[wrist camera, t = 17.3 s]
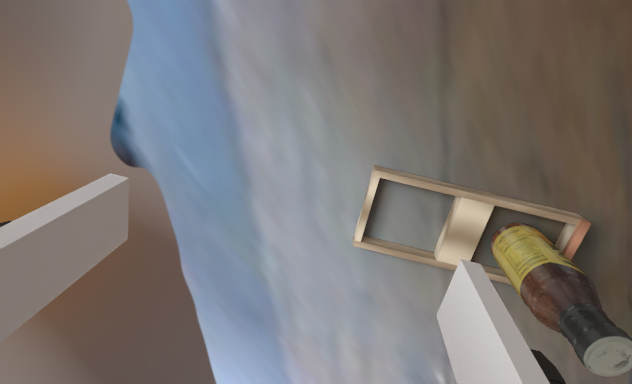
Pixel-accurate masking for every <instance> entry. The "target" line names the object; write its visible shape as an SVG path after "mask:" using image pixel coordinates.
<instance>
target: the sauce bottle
mask: <svg viewBox="0 0 632 384" xmlns="http://www.w3.org/2000/svg"><path fill="white" fill-rule="evenodd" d="M491 252H492V254H493V256H494V257H495V260H496V262H497V263H498V265H499V266H500V268H501V269H502V271H503V272H504V274H505V275H506V277H507V278H508V280H509V281H510V283H511V284H512V285H513V287H514V288H515V290H516V291H517V293H518V294H519V296H520V297H521V299H522V300H523V302H524V303H525V304H526V305H527V306H528V307H529V308H530V310H531V312H532V313H533V314H534V316H535V317H536V318H537V319H538V320H539V321H540V322H541V323H543V324H544V325H545V326H547V327H549V328H551V329H553V330H555V331H557V332H560V333H562V334H563V336H564V337H566V338H567V339H568V341H569V342H570V343H571V345H572V346H573V347H574V350H575V352H576V354H577V356H578V358H579V359H580V360H581V362H582V363H583V365H584V366H585V367H586V368H587V369H588V370H589V371H590V372H592V373H594V374H597V375H600V376H604V377H610V376H617V375H620V374H623V373H625V372H627V371H629V370H630V369H631V368H632V339H631V338H630V337H629V335H628V334H627V333H626V332H624V331H623V330H621V329H620V328H618V327H616V325H615V324H614V323H613V322H612V321H611V320H610V319H609V318H608V317H607V315H606V314H605V312H604V311H603V310H602V307H601V304H600V301H599V298H598V295H597V292H596V289H595V286H594V284H593V282H592V281H591V280H590V279H589V278H588V277H587V276H586V275H585V274H584V273H583V272H582V271H581V270H580V269H579V268H578V267H577V266H576V265H575V264H573V263H572V262H571V261H570V260H569V259H568V258H567V257H566V256H565V255H564V254H563V253H562V252H561V251H560V250H559V249H558V248H557V247H555V246H554V245H553V244H552V243H551V242H550V241H549V240H548V239H547V238H546V237H545V236H544V235H543V234H542V233H541V232H540V231H538V230H537V229H535V228H533V227H532V226H530V225H527V224H523V223H512V224H508V225H506V226H504V227H502V228H501V229H499V230H498V231H497V232H496V233H495V234H494V235H493V237H492V240H491Z"/></svg>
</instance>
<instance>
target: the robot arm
mask: <svg viewBox="0 0 632 384" xmlns="http://www.w3.org/2000/svg"><path fill="white" fill-rule="evenodd" d="M128 208H129V178H127V177H123V176H118V175H114V174H109V175H106V176H104V177H102V178H100V179H98V180H96V181H94V182H92V183H90V184H88V185H86V186H84V187H82V188H80V189H78V190H76V191H74V192H71V193H69V194H67V195H65V196H63V197H61V198H59V199H57V200H55V201H53V202H51V203H49V204H47V205H45V206H43V207H41V208H39V209H37V210H35V211H33V212H31V213H29V214H27V215H25V216H23V217H20V218H18V219H16V220H14V221H7V222H3V223H0V342H1V341H3V340H4V339H5V338H6V337H7V336H9V335H10V334H11V333H12V332H14V331H15V330H16V329H18V328H19V327H20V326H21V325H22V324H24V323H25V322H26V321H27V320H29V319H30V318H31V317H32V316H34V315H35V314H36V313H37V312H38V311H40V310H41V309H42V308H43V307H45V306H46V305H47V304H48V303H49V302H51V301H52V300H53V299H54V298H56V297H57V296H58V295H59V294H61V293H62V292H63V291H64V290H66V289H67V288H68V287H69V286H70V285H72V284H73V283H74V282H75V281H77V280H78V279H79V278H80V277H81V276H83V275H84V274H85V273H86V272H88V271H89V270H90V269H91V268H93V267H94V266H95V265H96V264H98V263H99V262H100V261H101V260H102V259H104V258H105V257H106V256H107V255H108V254H110V253H111V252H112V251H113V250H115V249H116V248H117V247H118V246H120V245H121V244H122V243H123V242H125V241H126V240H127V239H128ZM437 319H438V322H439V325H440V329H441V332H442V336H443V339H444V342H445V346H446V349H447V352H448V356H449V359H450V362H451V366H452V369H453V372H454V376H455V379H456V382H457V384H566V383H565V381H564V379H563V378H562V376H561V375H560V373H559V371H558V370H557V368H556V367H555V366H554V365H553V364H552V363H551V362H550V361H549V360H548V359H547V358H546V357H545V356H544V355H543V354H542V353H541V352H540V351H536V350H532V349H529V347H528V345H527V343H526V342H525V340H524V338H523V336H522V335H521V333H520V331H519V330H518V328H517V326H516V324H515V323H514V321H513V319H512V317H511V316H510V314H509V312H508V311H507V309H506V307H505V305H504V304H503V302H502V300H501V299H500V297H499V295H498V293H497V292H496V290H495V288H494V286H493V285H492V283H491V281H490V280H489V278H488V276H487V274H486V273H485V271H484V269H483V268H482V266H481V264H479V263H475V262H471V261H466V260H462V259H460V262H459V264H458V267H457V269H456V271H455V274H454V276H453V278H452V281H451V283H450V285H449V288H448V290H447V292H446V295H445V297H444V299H443V302H442V304H441V306H440V309H439V311H438V313H437Z"/></svg>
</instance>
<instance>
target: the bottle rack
mask: <svg viewBox="0 0 632 384" xmlns="http://www.w3.org/2000/svg"><path fill="white" fill-rule="evenodd" d="M380 178H383V179H387V180H391V181H396V182H400V183H404V184H408V185H412V186H416V187H421V188H425V189H429V190H433V191H437V192H441V193H445V194H450V195H454V196H456V197H455V199H454V202H453V204H452V207H451V209H450V212H449V214H448V217H447V220H446V222H445V225H444V227H443V230H442V232H441V235H440V237H439V240H438V243H437V245H436V248H435V250H434V253H433V252H429V251H425V250H421V249H417V248H413V247H408V246H404V245H400V244H396V243H392V242H388V241H384V240H380V239H376V238H372V237H368V236H363V232H364V229H365V226H366V222H367V219H368V216H369V212H370V209H371V206H372V202H373V199H374V196H375V192H376V189H377V186H378V182H379V179H380ZM494 206H499V207H504V208H508V209H512V210H516V211H520V212H524V213H529V214H533V215H537V216H541V217H545V218H549V219H553V220H558V221H562V222H566V224H565V226H564V228H563V230H562V232H561V234H560V235H559V237H558V239H557V241H556V243H555V245H554V246H555V247H557V248H558V249H559V250H560V251H561V252H562V253H563V254H564V255H565V256H566V257H567V258H568V259H569V260H570V261H571V259H572V257H573V256H574V254H575V252H576V250H577V248H578V247H579V245H580V243H581V241H582V240H583V238H584V236H585V234H586V232H587V231H588V229H589V227H590V225H591V224H592V223H590V222H589V221H587V220H586V219H584V218H583V217H582V216H580V215H579V214H576V213H572V212H568V211H563V210H559V209H555V208H551V207H547V206H543V205H538V204H534V203H530V202H526V201H522V200H518V199H513V198H509V197H505V196H501V195H497V194H493V193H488V192H484V191H480V190H476V189H472V188H468V187H463V186H459V185H455V184H451V183H447V182H443V181H438V180H434V179H430V178H426V177H422V176H418V175H414V174H409V173H405V172H401V171H397V170H393V169H389V168H384V167H380V166H376V165H374V168H373V172H372V175H371V179H370V182H369V186H368V189H367V193H366V196H365V199H364V203H363V206H362V210H361V213H360V217H359V220H358V224H357V227H356V230H355V234H354V237H353V246H356V247H360V248H364V249H368V250H372V251H376V252H380V253H385V254H389V255H393V256H397V257H401V258H405V259H409V260H413V261H417V262H421V263H425V264H429V265H434V266H438V267H442V268H446V269H450V270H454V271H456V269H457V267H458V264H459V262H460V259H462V260H466V261H470V260H471V258H472V256H473V254H474V251H475V249H476V247H477V245H478V242H479V240H480V238H481V235H482V233H483V231H484V229H485V226H486V224H487V222H488V220H489V217H490V215H491V213H492V210H493V208H494ZM481 266H482V268H483V269H484V271H485V273H486V274H487V276H488V278H489V279H491V280H495V281H499V282H503V283H507V284H511V283H510V281H509V280H508V278H507V277H506V275H505V274H504V272H503V271H502V269H499V268H494V267H490V266H486V265H482V264H481ZM511 285H512V284H511Z"/></svg>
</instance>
